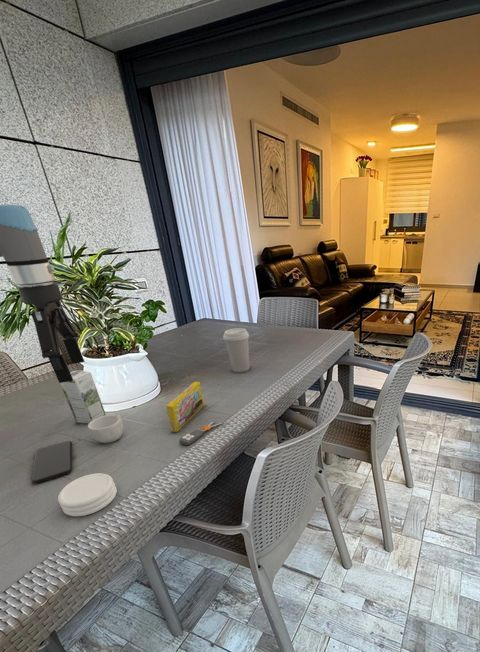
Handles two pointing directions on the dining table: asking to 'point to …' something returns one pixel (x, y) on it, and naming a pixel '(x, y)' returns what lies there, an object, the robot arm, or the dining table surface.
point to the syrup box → (83, 397)
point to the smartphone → (52, 461)
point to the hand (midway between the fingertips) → (72, 371)
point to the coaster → (87, 494)
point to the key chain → (196, 434)
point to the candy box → (185, 406)
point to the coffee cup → (237, 348)
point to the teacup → (106, 428)
